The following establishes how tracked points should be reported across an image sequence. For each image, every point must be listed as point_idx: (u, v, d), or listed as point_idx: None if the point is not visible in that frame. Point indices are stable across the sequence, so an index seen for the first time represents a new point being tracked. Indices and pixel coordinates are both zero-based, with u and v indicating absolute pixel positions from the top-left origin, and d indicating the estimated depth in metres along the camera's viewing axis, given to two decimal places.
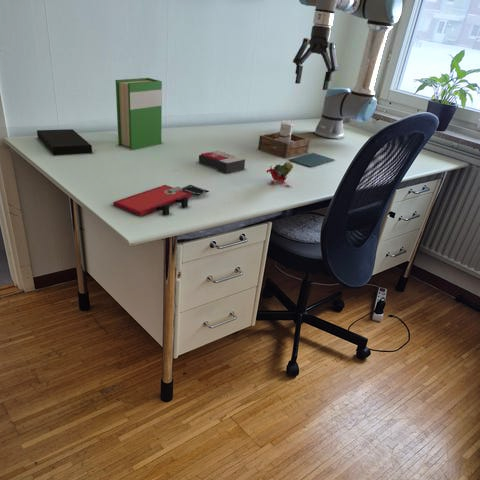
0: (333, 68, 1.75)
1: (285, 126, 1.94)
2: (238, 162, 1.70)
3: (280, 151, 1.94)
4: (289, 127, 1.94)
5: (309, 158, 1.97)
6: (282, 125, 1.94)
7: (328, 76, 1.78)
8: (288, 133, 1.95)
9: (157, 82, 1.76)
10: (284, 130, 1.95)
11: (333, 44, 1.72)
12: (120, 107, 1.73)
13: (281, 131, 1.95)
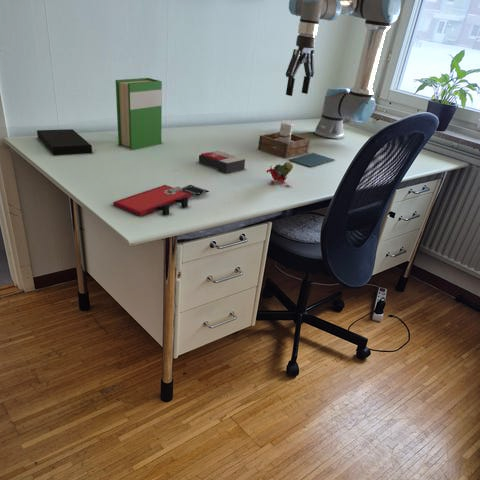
0: None
1: (285, 126, 1.94)
2: (238, 162, 1.70)
3: (280, 151, 1.94)
4: (289, 127, 1.94)
5: (309, 158, 1.97)
6: (282, 125, 1.94)
7: None
8: (288, 133, 1.95)
9: (157, 82, 1.76)
10: (284, 130, 1.95)
11: (295, 51, 1.75)
12: (120, 107, 1.73)
13: (281, 131, 1.95)
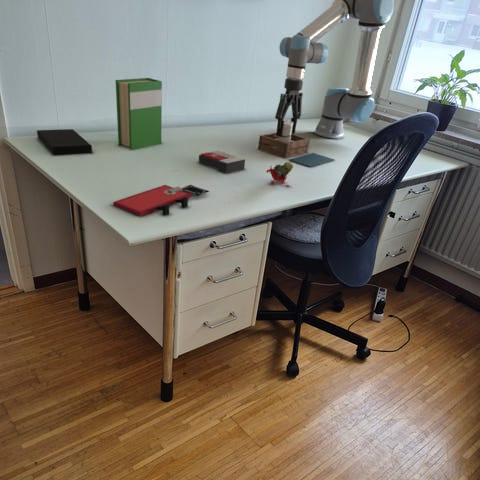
0: None
1: (285, 126, 1.94)
2: (238, 162, 1.70)
3: (280, 151, 1.94)
4: (289, 127, 1.94)
5: (309, 158, 1.97)
6: None
7: None
8: (288, 133, 1.95)
9: (157, 82, 1.76)
10: (284, 130, 1.95)
11: (282, 96, 1.86)
12: (120, 107, 1.73)
13: None
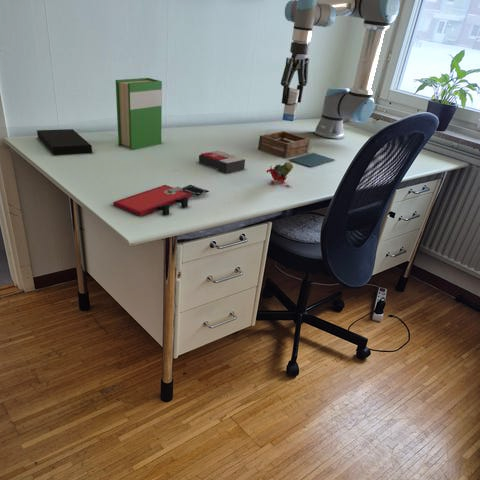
0: None
1: (291, 93, 1.86)
2: (238, 162, 1.70)
3: (280, 151, 1.94)
4: (295, 94, 1.86)
5: (309, 158, 1.97)
6: None
7: None
8: (294, 100, 1.87)
9: (157, 82, 1.76)
10: (290, 97, 1.87)
11: (288, 60, 1.78)
12: (120, 107, 1.73)
13: None
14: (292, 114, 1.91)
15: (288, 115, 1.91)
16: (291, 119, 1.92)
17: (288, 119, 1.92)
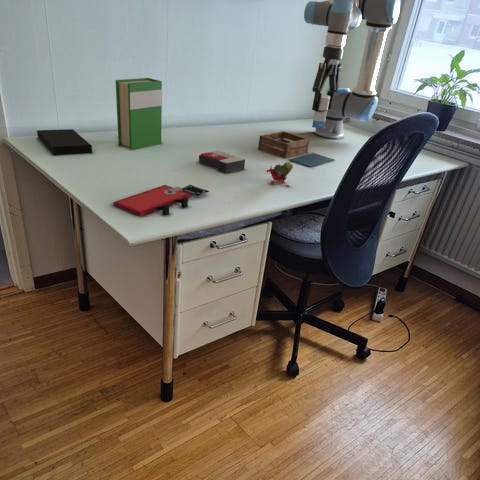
0: None
1: (322, 99, 1.78)
2: (238, 162, 1.70)
3: (280, 151, 1.94)
4: (327, 100, 1.78)
5: (309, 158, 1.97)
6: None
7: None
8: (325, 107, 1.80)
9: (157, 82, 1.76)
10: (321, 104, 1.79)
11: (321, 65, 1.70)
12: (120, 107, 1.73)
13: None
14: (323, 121, 1.83)
15: (318, 122, 1.83)
16: (321, 126, 1.84)
17: (318, 126, 1.84)
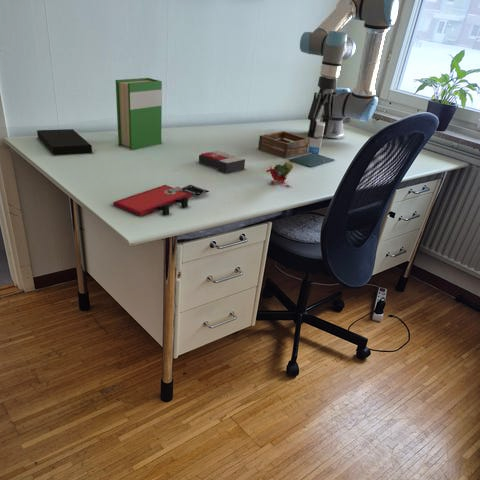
0: None
1: (317, 127, 1.84)
2: (238, 162, 1.70)
3: (280, 151, 1.94)
4: (322, 128, 1.84)
5: (309, 158, 1.97)
6: None
7: None
8: (320, 134, 1.85)
9: (157, 82, 1.76)
10: (316, 131, 1.85)
11: (316, 95, 1.76)
12: (120, 107, 1.73)
13: None
14: (318, 147, 1.89)
15: (314, 148, 1.89)
16: (317, 152, 1.90)
17: (314, 152, 1.90)
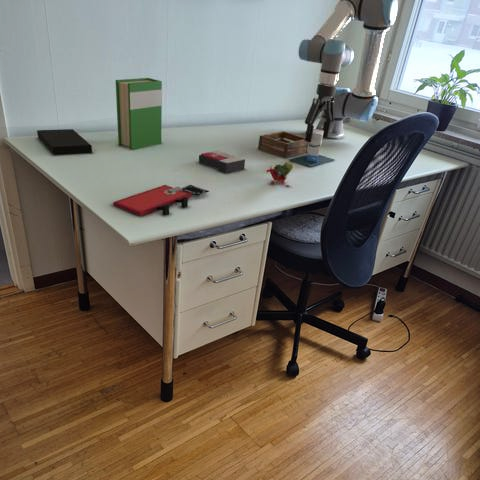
0: None
1: (316, 135, 1.86)
2: (238, 162, 1.70)
3: (280, 151, 1.94)
4: (320, 136, 1.86)
5: None
6: (313, 134, 1.86)
7: None
8: (319, 142, 1.88)
9: (157, 82, 1.76)
10: (315, 139, 1.87)
11: (315, 100, 1.77)
12: (120, 107, 1.73)
13: (311, 140, 1.88)
14: (316, 155, 1.91)
15: (312, 156, 1.91)
16: (315, 160, 1.92)
17: (312, 160, 1.92)
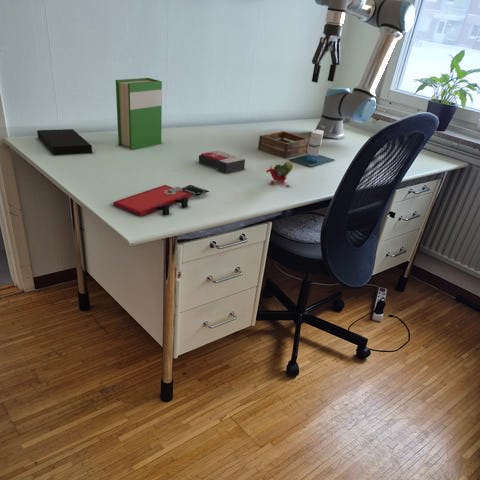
0: None
1: (316, 135, 1.86)
2: (238, 162, 1.70)
3: (280, 151, 1.94)
4: (320, 136, 1.86)
5: None
6: (313, 134, 1.86)
7: None
8: (319, 142, 1.88)
9: (157, 82, 1.76)
10: (315, 139, 1.87)
11: (322, 39, 1.82)
12: (120, 107, 1.73)
13: (311, 140, 1.88)
14: (316, 155, 1.91)
15: (312, 156, 1.91)
16: (315, 160, 1.92)
17: (312, 160, 1.92)
